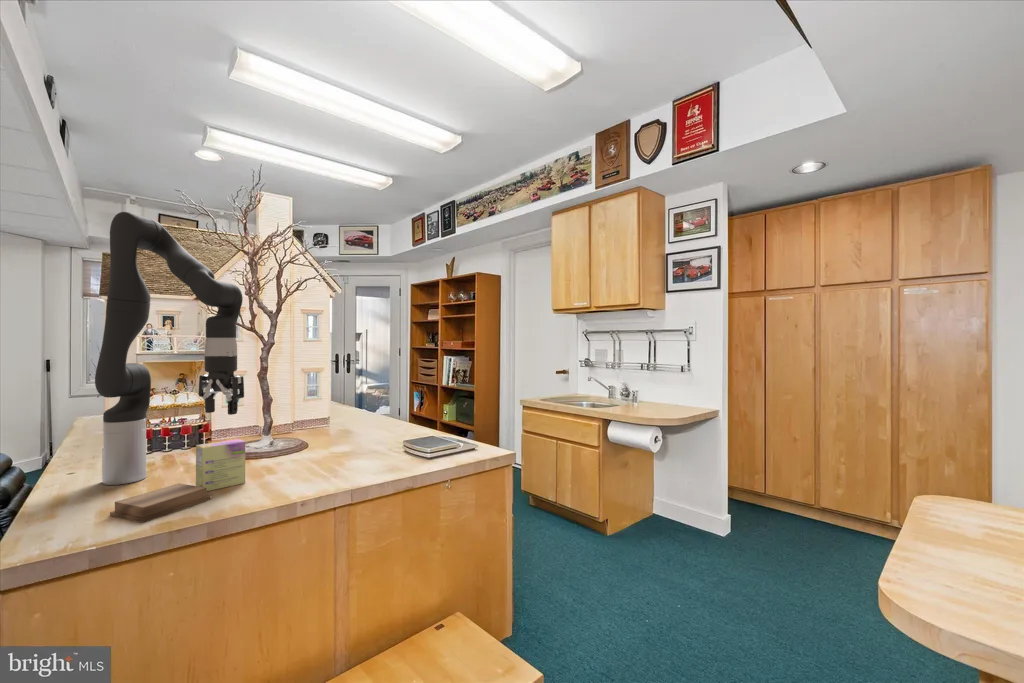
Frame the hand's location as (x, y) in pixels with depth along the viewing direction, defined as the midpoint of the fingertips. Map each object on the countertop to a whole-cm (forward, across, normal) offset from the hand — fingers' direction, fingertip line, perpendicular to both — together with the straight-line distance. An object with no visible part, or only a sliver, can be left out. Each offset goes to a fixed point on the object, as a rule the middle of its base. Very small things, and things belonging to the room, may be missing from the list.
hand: (221, 413), depth 121 cm
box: (+20, 0, 0) cm, 20 cm away
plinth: (+20, +2, -16) cm, 26 cm away
